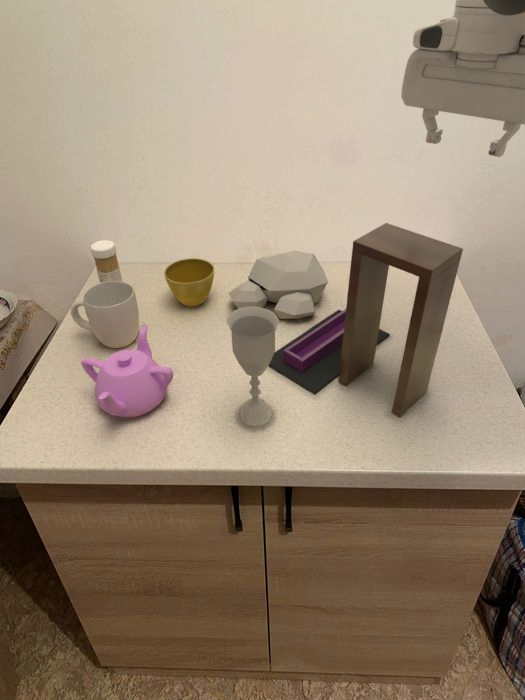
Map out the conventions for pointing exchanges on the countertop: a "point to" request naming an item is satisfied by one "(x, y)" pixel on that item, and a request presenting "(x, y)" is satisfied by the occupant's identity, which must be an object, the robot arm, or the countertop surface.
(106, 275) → the sprinkles bottle
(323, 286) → the rock
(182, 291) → the mustard yellow bowl
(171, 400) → the countertop surface
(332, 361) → the charcoal mat
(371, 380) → the countertop surface
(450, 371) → the countertop surface
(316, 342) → the plum dish
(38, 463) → the countertop surface
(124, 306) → the mug
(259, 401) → the chalice
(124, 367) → the teapot
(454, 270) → the walnut stand
